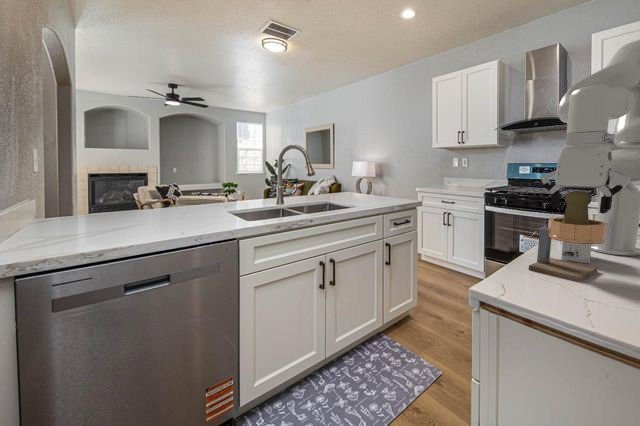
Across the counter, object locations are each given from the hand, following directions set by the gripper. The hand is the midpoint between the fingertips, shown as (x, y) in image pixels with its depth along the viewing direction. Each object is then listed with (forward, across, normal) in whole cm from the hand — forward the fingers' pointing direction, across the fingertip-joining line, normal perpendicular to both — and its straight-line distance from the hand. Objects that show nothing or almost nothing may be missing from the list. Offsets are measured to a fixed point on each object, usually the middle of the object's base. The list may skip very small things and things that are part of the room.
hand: (578, 210), depth 78 cm
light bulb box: (+17, +5, -16) cm, 23 cm away
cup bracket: (+16, +1, 0) cm, 16 cm away
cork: (+6, 0, 0) cm, 6 cm away
